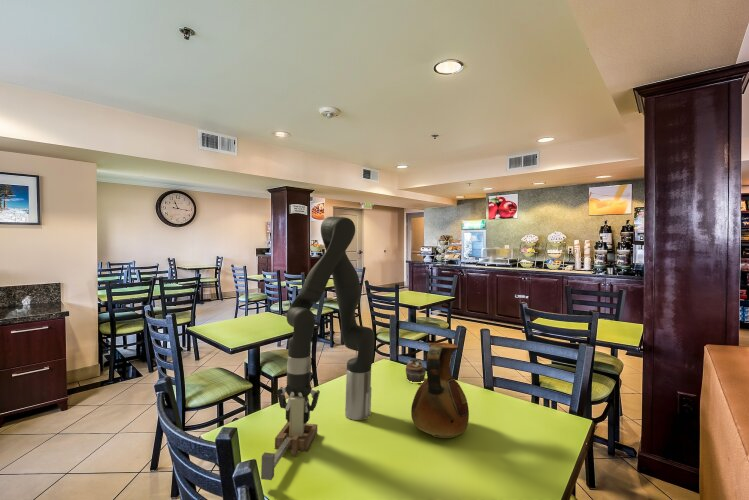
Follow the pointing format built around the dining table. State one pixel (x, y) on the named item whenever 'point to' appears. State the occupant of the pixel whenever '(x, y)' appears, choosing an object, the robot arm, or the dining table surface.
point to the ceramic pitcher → (440, 396)
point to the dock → (297, 438)
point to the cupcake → (415, 371)
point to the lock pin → (272, 460)
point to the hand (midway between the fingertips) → (297, 421)
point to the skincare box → (296, 416)
